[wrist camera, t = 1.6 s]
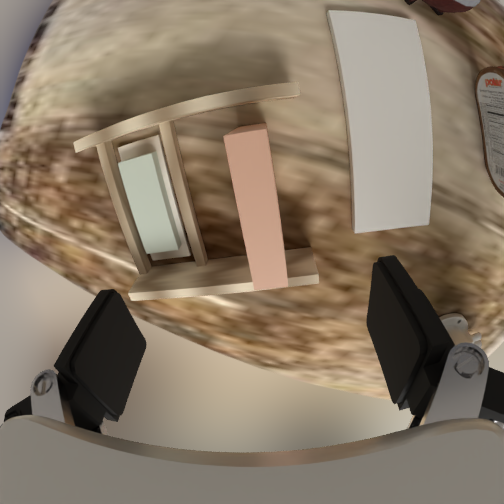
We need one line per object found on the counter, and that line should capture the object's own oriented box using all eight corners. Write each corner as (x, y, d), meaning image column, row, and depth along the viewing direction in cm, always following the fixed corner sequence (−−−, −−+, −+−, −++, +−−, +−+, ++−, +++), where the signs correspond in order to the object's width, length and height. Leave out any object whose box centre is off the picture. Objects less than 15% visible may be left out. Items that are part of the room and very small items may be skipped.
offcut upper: (156, 151, 23) (151, 153, 22) (181, 244, 28) (178, 249, 27) (123, 160, 24) (117, 163, 23) (150, 248, 28) (146, 254, 27)
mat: (410, 22, 15) (415, 20, 14) (424, 220, 26) (428, 224, 25) (326, 13, 16) (328, 10, 15) (352, 229, 27) (354, 233, 26)
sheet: (266, 122, 22) (266, 128, 14) (282, 232, 27) (288, 286, 20) (238, 127, 22) (223, 135, 15) (257, 235, 28) (254, 290, 20)
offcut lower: (162, 133, 24) (158, 134, 22) (192, 250, 30) (190, 255, 29) (123, 145, 24) (117, 147, 23) (156, 255, 30) (152, 260, 29)
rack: (291, 87, 20) (298, 81, 16) (311, 255, 28) (318, 283, 24) (101, 134, 23) (73, 142, 18) (147, 274, 31) (131, 300, 26)
